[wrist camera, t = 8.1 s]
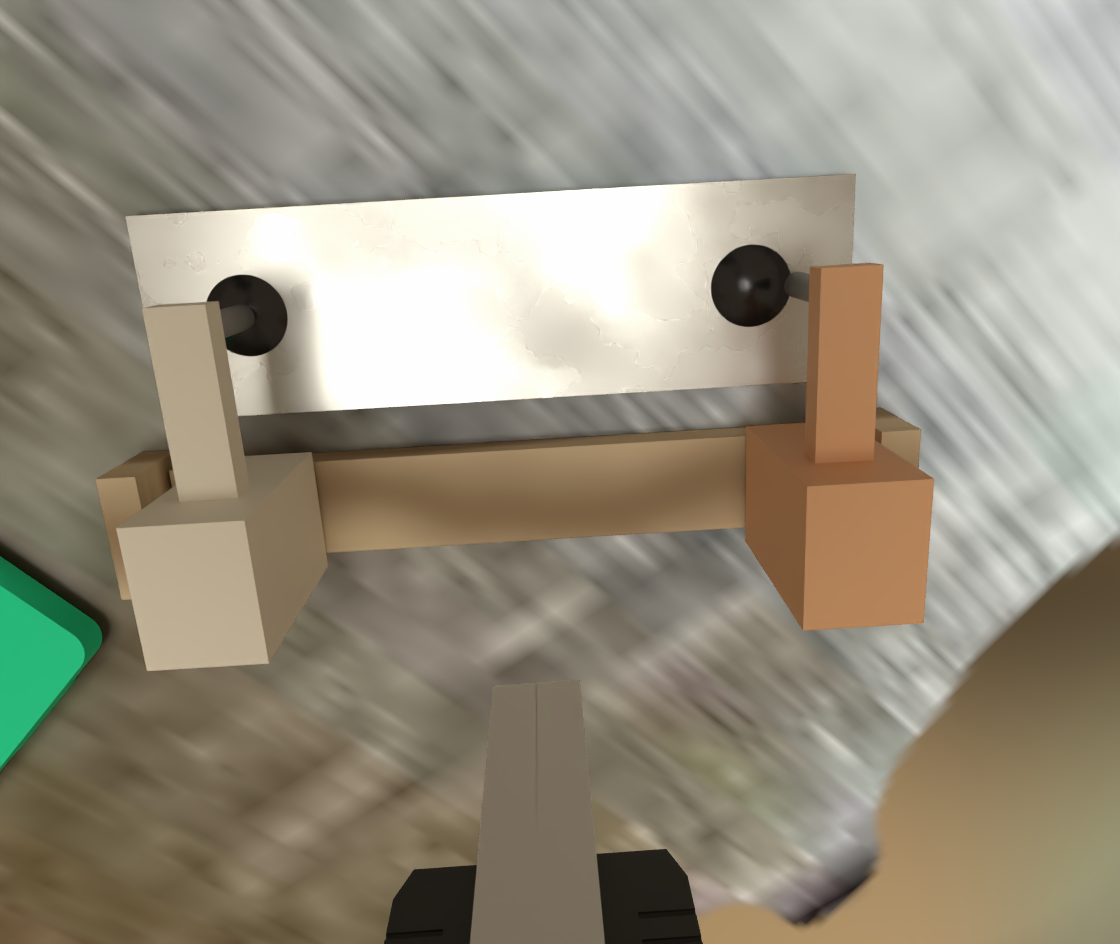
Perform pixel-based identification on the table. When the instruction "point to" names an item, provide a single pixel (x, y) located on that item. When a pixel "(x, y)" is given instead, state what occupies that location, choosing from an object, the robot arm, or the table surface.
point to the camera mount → (36, 654)
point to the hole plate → (506, 291)
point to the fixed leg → (217, 512)
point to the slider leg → (839, 475)
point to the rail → (507, 488)
